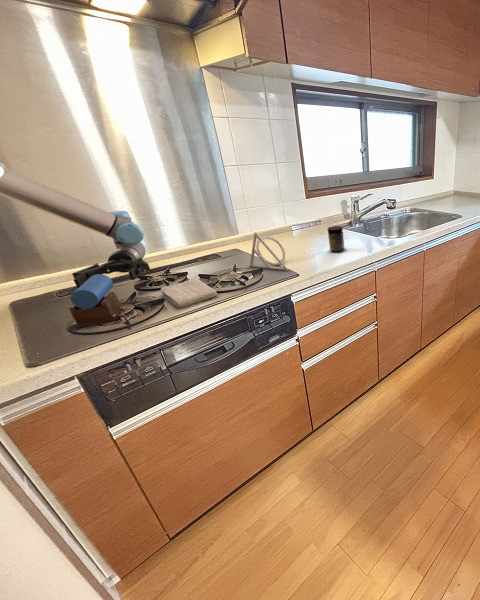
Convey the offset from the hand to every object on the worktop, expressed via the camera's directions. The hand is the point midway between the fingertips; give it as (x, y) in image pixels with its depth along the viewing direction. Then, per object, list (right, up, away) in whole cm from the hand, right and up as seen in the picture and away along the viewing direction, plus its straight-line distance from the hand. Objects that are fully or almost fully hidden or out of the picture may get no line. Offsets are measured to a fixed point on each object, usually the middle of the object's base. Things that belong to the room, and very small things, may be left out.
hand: (104, 279), depth 100 cm
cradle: (+5, -12, -6) cm, 14 cm away
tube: (+4, -4, -8) cm, 9 cm away
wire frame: (+41, +8, +32) cm, 52 cm away
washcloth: (+22, -5, +6) cm, 24 cm away
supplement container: (+63, +16, +48) cm, 81 cm away
